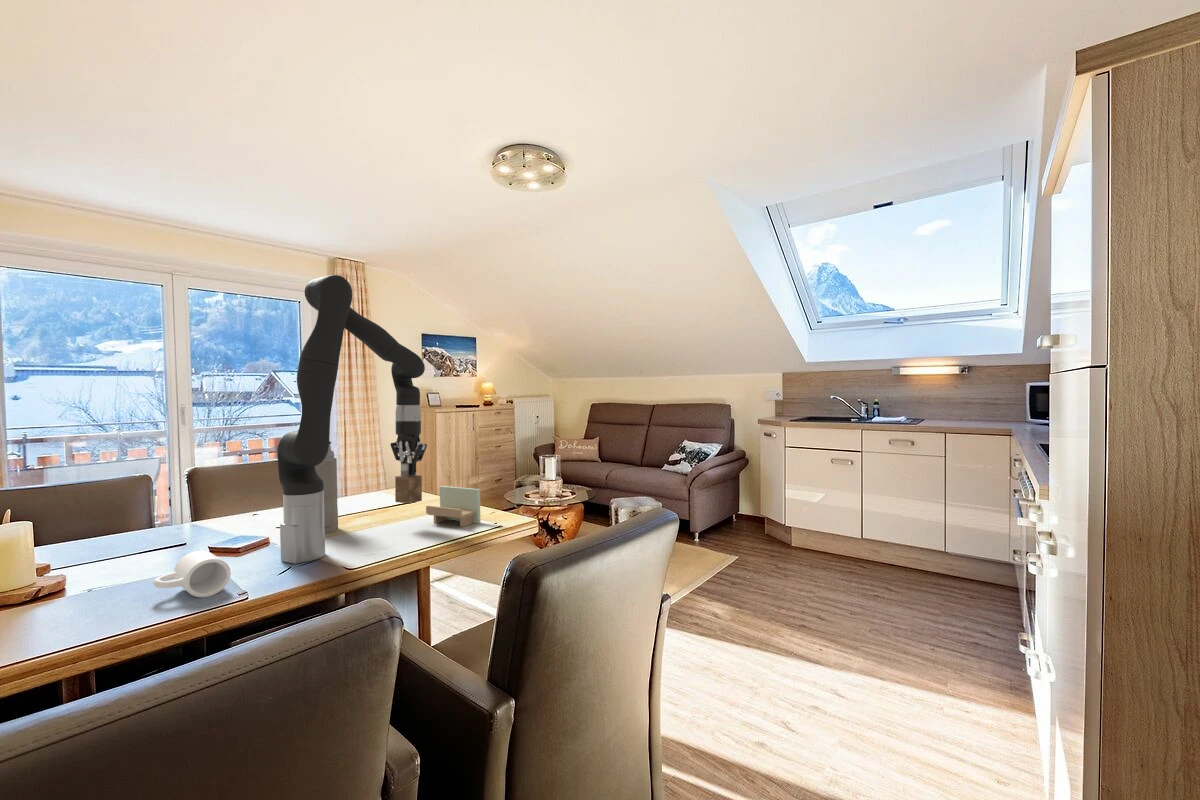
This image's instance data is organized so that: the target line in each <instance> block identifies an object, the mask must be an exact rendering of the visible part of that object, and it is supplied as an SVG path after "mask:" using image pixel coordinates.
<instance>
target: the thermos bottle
mask: <svg viewBox="0 0 1200 800" xmlns="http://www.w3.org/2000/svg"><path fill="white" fill-rule="evenodd" d="M331 444H332V441H330V440H329V449H328V453H327V455H326V457H325V459H324V460H323V461H322V462H321V463H320V464H319V465H317V466H315V470H316V473H317V474H318V476H319V477H320V478H321V479H322V480H323V484H324V525H325V534H328V533H332V532H335V531H338V530H339V510H338V509H339V506H338V468H337V467H338V462H337V457H335V451H333V450H332V448H331V447H332V446H331Z"/></svg>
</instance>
